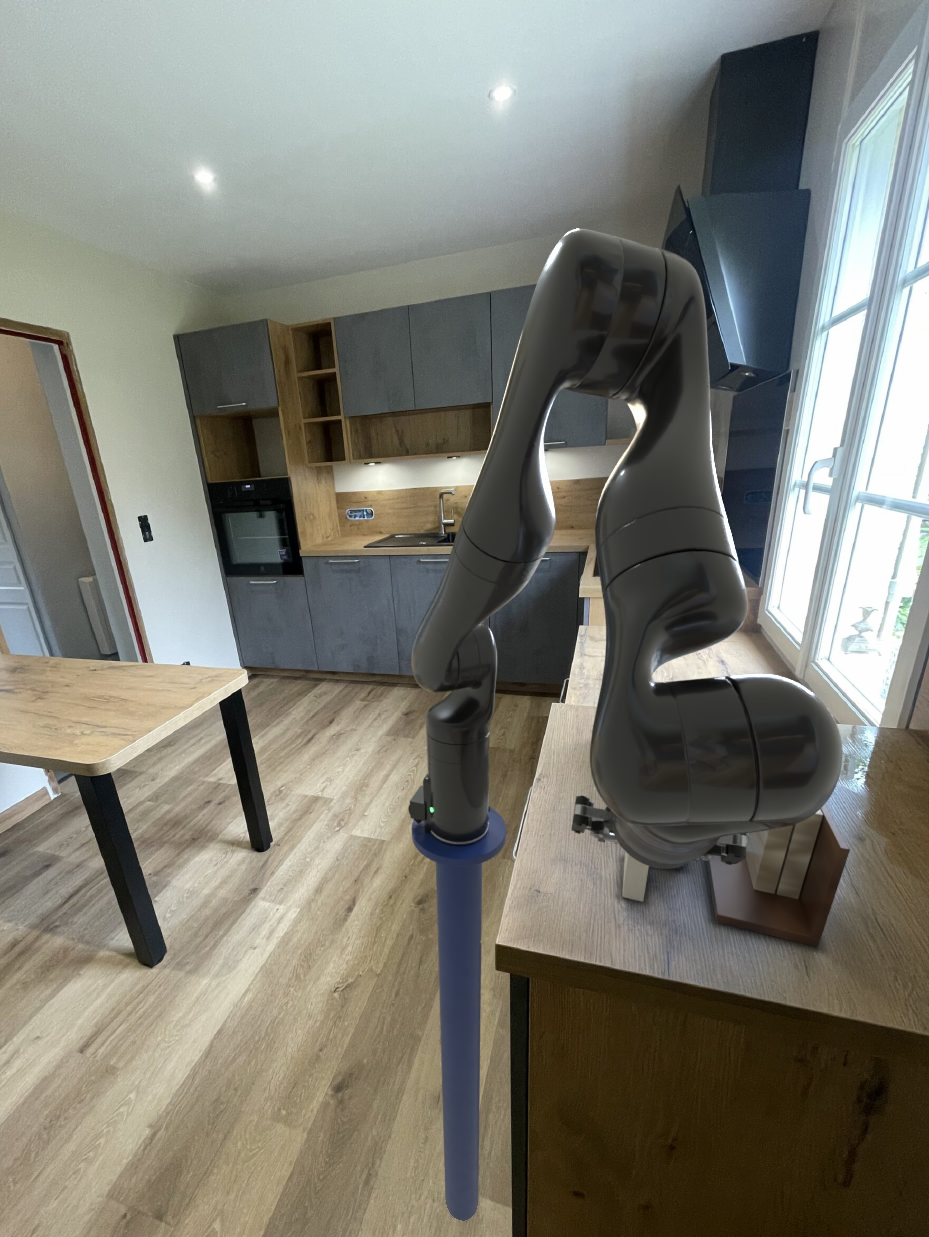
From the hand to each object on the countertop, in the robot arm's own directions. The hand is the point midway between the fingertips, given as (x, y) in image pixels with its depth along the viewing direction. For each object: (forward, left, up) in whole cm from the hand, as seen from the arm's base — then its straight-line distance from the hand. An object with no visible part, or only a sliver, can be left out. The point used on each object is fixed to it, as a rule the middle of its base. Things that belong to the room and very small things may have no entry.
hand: (646, 840), depth 54 cm
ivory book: (0, +10, -14) cm, 17 cm away
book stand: (+14, +13, -14) cm, 23 cm away
